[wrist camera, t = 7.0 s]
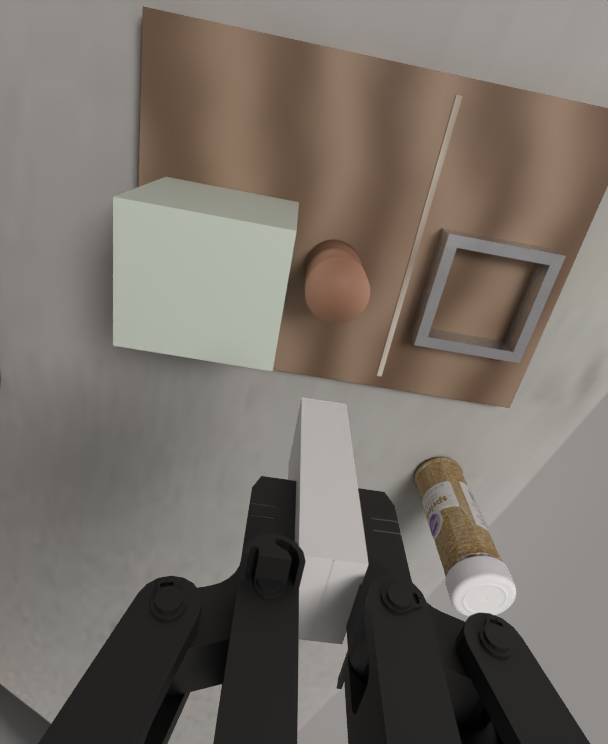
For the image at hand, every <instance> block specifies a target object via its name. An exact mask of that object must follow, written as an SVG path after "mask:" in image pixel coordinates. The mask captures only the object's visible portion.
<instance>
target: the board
mask: <svg viewBox="0 0 608 744" xmlns="http://www.w3.org/2000/svg"><path fill="white" fill-rule="evenodd" d="M164 177H170V178H176V179H181V180H186V181H191V182H197V183H202V184H207V185H212V186H217V187H223V188H228V189H233V190H238V191H243V192H249V193H254V194H259V195H264V196H270V197H275V198H280V199H285V200H290V201H296V202H299V209H298V221H297V232H296V238H295V243H294V249H293V255H292V261H291V267H290V273H289V278H288V284H287V290H286V296H285V302H284V307H283V313H282V319H281V325H280V331H279V337H278V342H277V348H276V354H275V360H274V366H273V370H279V371H286V372H292V373H298V374H304V375H310V376H316V377H322V378H328V379H335V380H341V381H347V382H353V383H359V384H365V385H371V386H377V387H384V388H390V389H396V390H402V391H408V392H414V393H420V394H427V395H433V396H439V397H445V398H451V399H457V400H463V401H469V402H476V403H482V404H488V405H494V406H500V407H506V408H510V406H511V403H512V401H513V399H514V397H515V394H516V392H517V390H518V388H519V385H520V383H521V381H522V379H523V376H524V374H525V372H526V369H527V367H528V365H529V363H530V360H531V358H532V356H533V354H534V351H535V349H536V347H537V345H538V342H539V340H540V338H541V335H542V333H543V331H544V329H545V326H546V324H547V322H548V320H549V317H550V315H551V313H552V311H553V308H554V306H555V304H556V302H557V299H558V297H559V295H560V292H561V290H562V288H563V286H564V283H565V281H566V279H567V277H568V274H569V272H570V270H571V268H572V265H573V263H574V261H575V259H576V256H577V254H578V252H579V249H580V247H581V245H582V243H583V240H584V238H585V236H586V234H587V231H588V229H589V227H590V225H591V222H592V220H593V218H594V215H595V213H596V211H597V209H598V206H599V204H600V202H601V200H602V197H603V195H604V193H605V191H606V188H607V186H608V108H604V107H599V106H595V105H590V104H586V103H581V102H577V101H572V100H567V99H563V98H558V97H554V96H549V95H545V94H540V93H535V92H531V91H526V90H522V89H517V88H513V87H508V86H503V85H499V84H494V83H490V82H485V81H481V80H476V79H471V78H467V77H462V76H458V75H453V74H449V73H444V72H440V71H435V70H430V69H426V68H421V67H417V66H412V65H408V64H403V63H398V62H394V61H389V60H385V59H380V58H376V57H371V56H366V55H362V54H357V53H353V52H348V51H344V50H339V49H334V48H330V47H325V46H321V45H316V44H312V43H307V42H302V41H298V40H293V39H289V38H284V37H280V36H275V35H270V34H266V33H261V32H257V31H252V30H248V29H243V28H238V27H234V26H229V25H225V24H220V23H216V22H211V21H207V20H202V19H197V18H193V17H188V16H184V15H179V14H175V13H170V12H165V11H161V10H156V9H152V8H147V7H143V21H142V63H141V104H140V146H139V187H140V186H143V185H145V184H148V183H150V182H153V181H156V180H158V179H161V178H164ZM441 228H445V229H451V230H456V231H461V232H466V233H471V234H477V235H482V236H487V237H492V238H497V239H503V240H508V241H513V242H518V243H523V244H529V245H534V246H539V247H544V248H549V249H553V250H555V251H557V252H559V253H561V254H563V255H565V256H566V257H565V259H564V262H563V264H562V266H561V269H560V271H559V273H558V275H557V278H556V280H555V282H554V285H553V287H552V289H551V292H550V294H549V296H548V299H547V301H546V303H545V306H544V308H543V310H542V313H541V315H540V317H539V320H538V322H537V324H536V326H535V329H534V331H533V333H532V336H531V338H530V340H529V343H528V345H527V347H526V350H525V352H524V354H523V357H522V359H521V361H520V363H515V362H510V361H504V360H498V359H492V358H486V357H480V356H475V355H469V354H463V353H457V352H451V351H445V350H439V349H434V348H428V347H422V346H416V345H414V344H413V342H412V340H411V338H410V336H409V333H410V330H411V327H412V323H413V320H414V317H415V314H416V310H417V307H418V304H419V300H420V297H421V294H422V291H423V287H424V284H425V281H426V278H427V274H428V271H429V268H430V264H431V261H432V258H433V255H434V251H435V248H436V245H437V242H438V238H439V235H440V232H441ZM534 265H535V262H529V261H524V260H519V259H514V258H508V257H503V256H498V255H492V254H487V253H482V252H477V251H471V250H466V249H461V248H457V249H456V252H455V255H454V258H453V262H452V265H451V268H450V271H449V274H448V277H447V280H446V283H445V286H444V289H443V292H442V295H441V298H440V301H439V305H438V308H437V311H436V314H435V317H434V320H433V323H432V326H431V329H437V330H443V331H448V332H454V333H460V334H466V335H471V336H477V337H483V338H488V339H494V340H500V341H504V339H505V337H506V334H507V332H508V329H509V327H510V324H511V322H512V319H513V317H514V315H515V312H516V310H517V307H518V305H519V302H520V300H521V297H522V295H523V292H524V290H525V287H526V285H527V282H528V280H529V277H530V275H531V273H532V270H533V268H534Z"/></svg>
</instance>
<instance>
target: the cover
mask: <svg viewBox="0 0 608 744" xmlns="http://www.w3.org/2000/svg"><path fill="white" fill-rule="evenodd" d="M298 209H299V202H296V201H290V200H285V199H280V198H275V197H270V196H264V195H259V194H254V193H249V192H243V191H238V190H233V189H228V188H223V187H217V186H212V185H207V184H202V183H197V182H191V181H186V180H181V179H176V178H170V177H164V178H161V179H158V180H156V181H153V182H150V183H148V184H145V185H143V186H140V187H137V188H135V189H132V190H129V191H127V192H124V193H122V194H119V195H116V196H114V197H113V346H119V347H125V348H131V349H137V350H143V351H150V352H156V353H162V354H168V355H174V356H180V357H186V358H193V359H199V360H205V361H211V362H217V363H223V364H229V365H236V366H242V367H248V368H254V369H260V370H266V371H272V372H273V366H274V360H275V354H276V348H277V342H278V337H279V331H280V325H281V319H282V313H283V307H284V302H285V296H286V290H287V284H288V278H289V273H290V267H291V261H292V255H293V249H294V243H295V238H296V232H297V221H298Z"/></svg>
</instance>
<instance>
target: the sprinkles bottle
mask: <svg viewBox="0 0 608 744" xmlns="http://www.w3.org/2000/svg"><path fill="white" fill-rule="evenodd" d="M415 484H416V486H417V488H418V490H419V493H420V496H421V498H422V502H423V508H424V511H425V514H426V518H427V521H428V524H429V527H430V530H431V533H432V536H433V538H434V540H435V544H436V547H437V550H438V553H439V556H440V559H441V562H442V566H443V568H444V572H445V576H446V586H447V590H448V593H449V596H450V599H451V602H452V605H453V606H454V608H455V609H456V610H457V611H458V612H460V613H461V614H463V615H465V616H470V615H473V614H476V613H478V612H480V613H490V614H492V615H496V614H499V613H501V612H503V611H505V610H506V609H507V608H508V607H509V606H510V605H511V604H512V603H513V601H514V600H515V597H516V587H515V585H514V582H513V579H512V577H511V575H510V572H509V570H508V568H507V566H506V565H505V564H504V562H503V561H502V559H500V556H499V554H498V552H497V550H496V548H495V545H494V543H493V541H492V538H491V534H490V532H489V530H488V527H487V525H486V523H485V521H484V519H483V516H482V514H481V512H480V510H479V507H478V505H477V503H476V501H475V499H474V496H473V494H472V492H471V490H470V488H469V487H468V486H467V483H466V481H465V479H464V476H463V471H462V469H461V467H460V466H459V464H458V463H457V462H455V461H454V460H452V459H449V458H445V457H437V458H434V459H430V460H428V461H426V462H424V463H423V464H422V465H421V466H420V467H419V468H418V470H417V471H416V474H415Z"/></svg>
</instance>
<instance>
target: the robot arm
mask: <svg viewBox="0 0 608 744" xmlns="http://www.w3.org/2000/svg"><path fill="white" fill-rule="evenodd" d="M397 522H398V519H397V515H396V511H395V506H394V505H393V503H392V502H391V501H390V499H389V498H388V496H387V495H386V494H385V492H380V491H373V490H366V489H359V488H358V485H357V478H356V471H355V464H354V456H353V449H352V442H351V435H350V428H349V421H348V413H347V406H346V404H343V403H336V402H330V401H323V400H317V399H310V398H303V397H302V399H301V404H300V409H299V414H298V419H297V424H296V429H295V434H294V439H293V444H292V450H291V455H290V460H289V471H288V480H286V479H278V478H271V477H264V476H261V477H260V479H259V480H258V481H257V482H256V484H255V485H254V486H253V487H252V492H251V499H250V505H249V511H248V518H247V524H246V530H245V537H244V544H243V550H242V557H241V562H240V566H239V567H238V569H237V570H236V572H235V573H234V574H233V575H232V576H231V577H230V578H229V579H227V580H225V581H223V582H221V583H218V584H215V585H211V586H206V587H200V588H197V587H196V586H195V585H194V583H192V582H190V581H188V580H187V579H185V578H182V577H176V576H167V577H161V578H158V579H156V580H154V581H152V582H150V583H148V584H146V586H145V587H144V588H143V589H142V590H141V591H140V592H139V593H138V594H137V596H136V597H135V599H134V600H133V602H132V603H131V605H130V606H129V608H128V609H127V611H126V612H125V614H124V615H123V617H122V618H121V620H120V621H119V623H118V624H117V626H116V627H115V629H114V630H113V632H112V633H111V635H110V636H109V638H108V639H107V641H106V642H105V644H104V645H103V647H102V648H101V650H100V651H99V653H98V654H97V656H96V657H95V659H94V660H93V662H92V663H91V665H90V666H89V668H88V669H87V671H86V672H85V674H84V675H83V677H82V678H81V680H80V681H79V683H78V684H77V686H76V688H75V689H74V691H73V692H72V694H71V695H70V697H69V698H68V700H67V701H66V703H65V704H64V706H63V707H62V709H61V710H60V712H59V713H58V715H57V716H56V718H55V719H54V721H53V722H52V724H51V725H50V727H49V728H48V730H47V731H46V733H45V735H44V736H43V737H42V739H41V740H40V742H39V743H38V744H167V743H168V741H169V739H170V736H171V734H172V732H173V730H174V727H175V725H176V723H177V721H178V719H179V716H180V714H181V712H182V710H183V707H184V705H185V703H186V701H187V698H188V696H189V694H190V692H192V691H196V690H200V689H204V688H208V687H212V686H216V685H219V684H222V689H221V696H220V702H219V709H218V716H217V723H216V729H215V736H214V743H213V744H297V712H298V639H301V640H310V641H319V642H328V643H336V644H342V643H343V640H344V637H345V634H346V631H347V641H348V651H347V654H346V657H345V660H344V663H343V666H342V669H341V672H340V675H339V677H338V683H337V689H342V686H343V683H345V698H346V714H347V729H348V744H590V743H589V741H588V740H587V738H586V737H585V735H584V733H583V732H582V730H581V729H580V727H579V726H578V724H577V723H576V721H575V719H574V718H573V716H572V715H571V713H570V712H569V710H568V709H567V707H566V705H565V704H564V702H563V701H562V699H561V698H560V696H559V695H558V693H557V691H556V690H555V688H554V687H553V685H552V684H551V682H550V681H549V679H548V677H547V676H546V674H545V673H544V671H543V670H542V668H541V667H540V665H539V663H538V662H537V660H536V659H535V657H534V656H533V654H532V653H531V651H530V649H529V648H528V646H527V645H526V643H525V642H524V640H523V639H522V637H521V636H520V635H519V634H518V632H517V631H516V630H515V629H514V627H512V626H511V625H510V624H509V623H507V622H506V621H505V620H503V619H502V618H500V617H497V616H495V615H492V614H490V613H480V612H478V613H476V614H473V615H470V616H469V618H468V619H467V620H466V622H464V621H462V620H459V619H457V618H455V617H452V616H450V615H448V614H445V613H443V612H441V611H439V610H437V609H435V608H433V607H432V606H431V605H429V604H428V603H427V602H426V600H425V598H424V596H423V594H422V592H421V591H420V590H419V589H418V588H417V587H416V586H415V585H414V584H413V583H412V580H411V576H410V572H409V568H408V563H407V559H406V554H405V550H404V546H403V541H402V537H401V535H400V528H399V524H398V523H397Z"/></svg>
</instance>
